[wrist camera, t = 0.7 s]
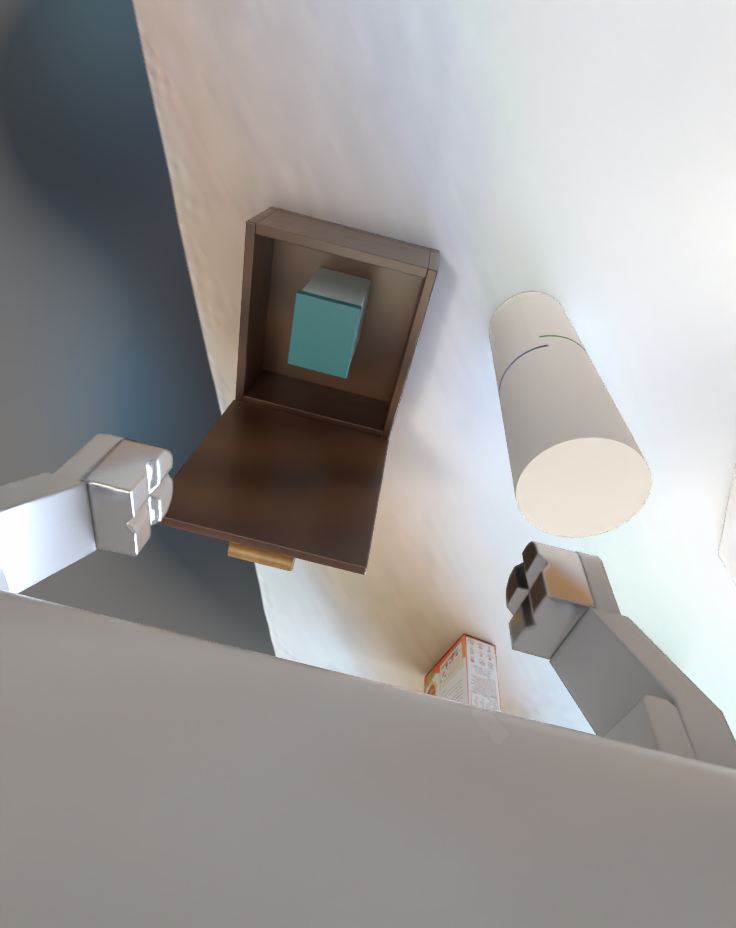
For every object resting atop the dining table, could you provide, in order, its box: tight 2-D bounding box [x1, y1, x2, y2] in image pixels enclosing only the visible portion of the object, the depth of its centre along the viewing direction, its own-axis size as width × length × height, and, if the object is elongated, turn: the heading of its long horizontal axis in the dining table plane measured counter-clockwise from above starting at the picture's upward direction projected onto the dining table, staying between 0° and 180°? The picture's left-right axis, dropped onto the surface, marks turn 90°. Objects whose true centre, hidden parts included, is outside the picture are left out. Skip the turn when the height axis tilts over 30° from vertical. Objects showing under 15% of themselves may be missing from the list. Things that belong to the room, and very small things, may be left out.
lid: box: [158, 400, 389, 575], centre depth 43 cm, size 17×16×5 cm
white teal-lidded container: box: [287, 267, 372, 378], centre depth 45 cm, size 6×5×8 cm
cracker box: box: [424, 635, 502, 712], centre depth 72 cm, size 14×6×21 cm, turn 158°
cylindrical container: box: [489, 291, 652, 538], centre depth 38 cm, size 7×7×25 cm
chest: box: [235, 207, 439, 439], centre depth 47 cm, size 17×16×7 cm
